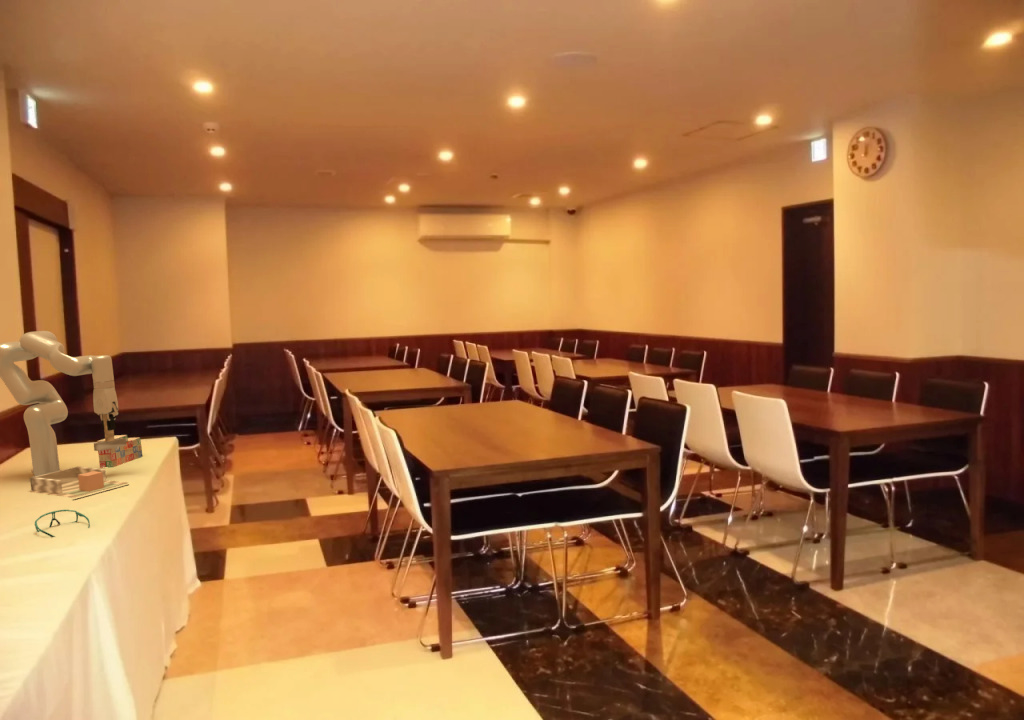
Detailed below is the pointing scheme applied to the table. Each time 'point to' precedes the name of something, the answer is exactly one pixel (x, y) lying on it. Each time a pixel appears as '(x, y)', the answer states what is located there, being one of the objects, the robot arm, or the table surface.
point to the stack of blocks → (120, 452)
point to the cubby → (68, 483)
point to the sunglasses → (57, 520)
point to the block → (91, 481)
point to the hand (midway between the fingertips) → (109, 429)
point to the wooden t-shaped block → (109, 439)
